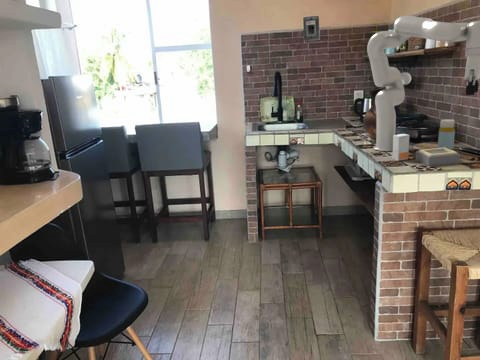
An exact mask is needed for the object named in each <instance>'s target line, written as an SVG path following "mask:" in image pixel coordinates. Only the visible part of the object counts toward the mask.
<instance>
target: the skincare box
mask: <svg viewBox="0 0 480 360" xmlns="http://www.w3.org/2000/svg"><path fill="white" fill-rule="evenodd" d="M409 146H410V134H406V133H399V134H395V135H393V151H392V160H393V159H394V161H397V162H399V161H405V160H409V149H410V147H409Z"/></svg>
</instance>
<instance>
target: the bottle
mask: <svg viewBox="0 0 480 360" xmlns="http://www.w3.org/2000/svg"><path fill="white" fill-rule="evenodd" d="M455 121H456V120H455V119H452V118H451V119H446V118H445V119H441V120H440V122H439V124H440V125H439V130H438V139H437V148H444V147H445V148H447V149H450V150H453V151H454V146H455V135H456V129H455Z"/></svg>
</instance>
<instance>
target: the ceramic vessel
mask: <svg viewBox="0 0 480 360" xmlns="http://www.w3.org/2000/svg"><path fill="white" fill-rule="evenodd" d="M382 90H384V87H378V88H375V89H371V90H369V91H368V93H369V95H370V97H371V100H372V105H371V107H370V108H368V110H367V111H366V113H365V114H364V117H363V119H362V124H363V127H364V130H365V131H366V133H367V134H368V135H369V136H370V137H371V138H373V139H376V131H377V113H376V105H375V97H376V95H377V94H378V92H380V91H382Z"/></svg>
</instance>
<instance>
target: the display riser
mask: <svg viewBox="0 0 480 360" xmlns="http://www.w3.org/2000/svg"><path fill="white" fill-rule="evenodd" d="M415 161H418V162H420V163H422V164H424V165H426V166H428V167H432V166H433V167H434V166H443V165H452V164H460V162H461V153H459V152H457V151H455V150H454V149H453V150H450V149H447V148H445V147H444V148H438V147H437V148H435V147H434V148H425V149H424V148H423V149H419V150H416V151H415Z"/></svg>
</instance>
